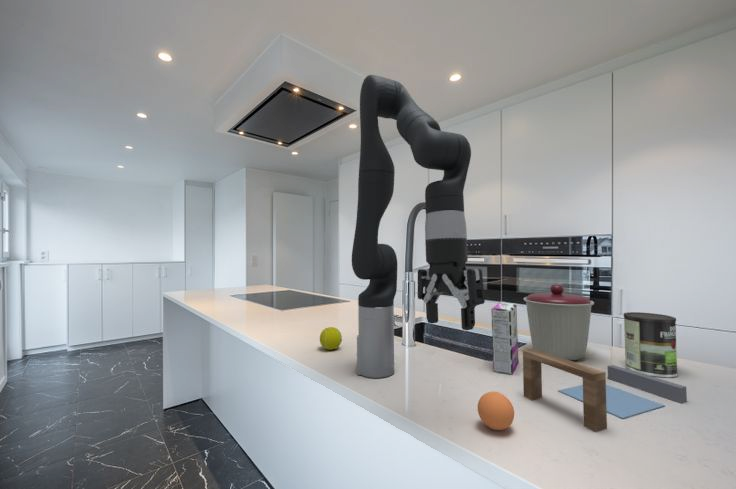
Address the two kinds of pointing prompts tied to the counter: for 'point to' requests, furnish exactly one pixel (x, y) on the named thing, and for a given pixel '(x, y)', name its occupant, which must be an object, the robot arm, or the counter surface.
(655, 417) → the counter surface
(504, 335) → the candy bar box
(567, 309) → the canister
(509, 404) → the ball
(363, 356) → the robot arm
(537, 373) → the bridge
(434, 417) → the counter surface
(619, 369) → the stopper
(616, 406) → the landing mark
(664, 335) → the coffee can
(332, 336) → the tennis ball
